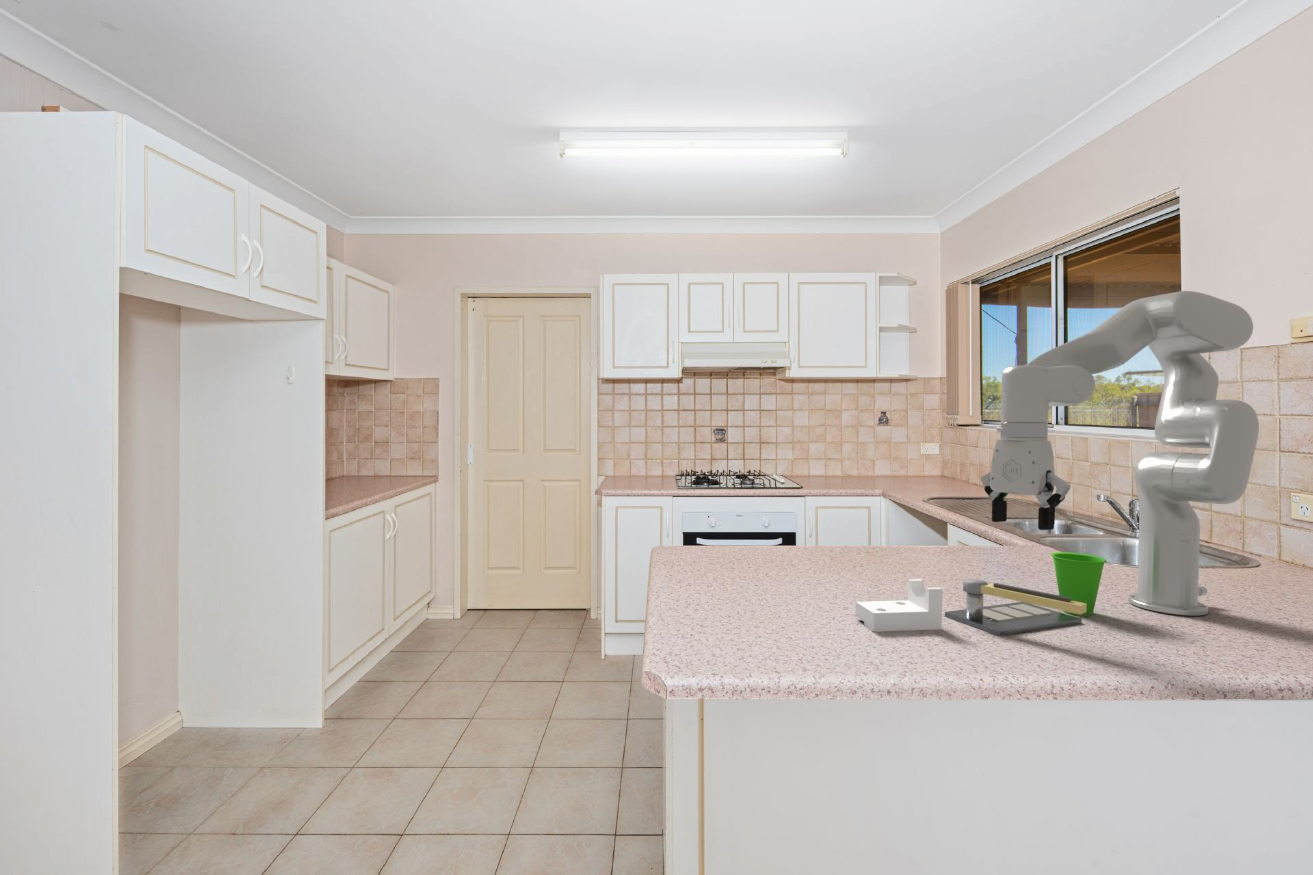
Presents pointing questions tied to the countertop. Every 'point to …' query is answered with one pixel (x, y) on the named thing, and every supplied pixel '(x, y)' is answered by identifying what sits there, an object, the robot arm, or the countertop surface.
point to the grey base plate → (1009, 616)
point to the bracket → (904, 610)
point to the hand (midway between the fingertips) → (1021, 525)
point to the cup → (1078, 577)
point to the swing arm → (1024, 595)
